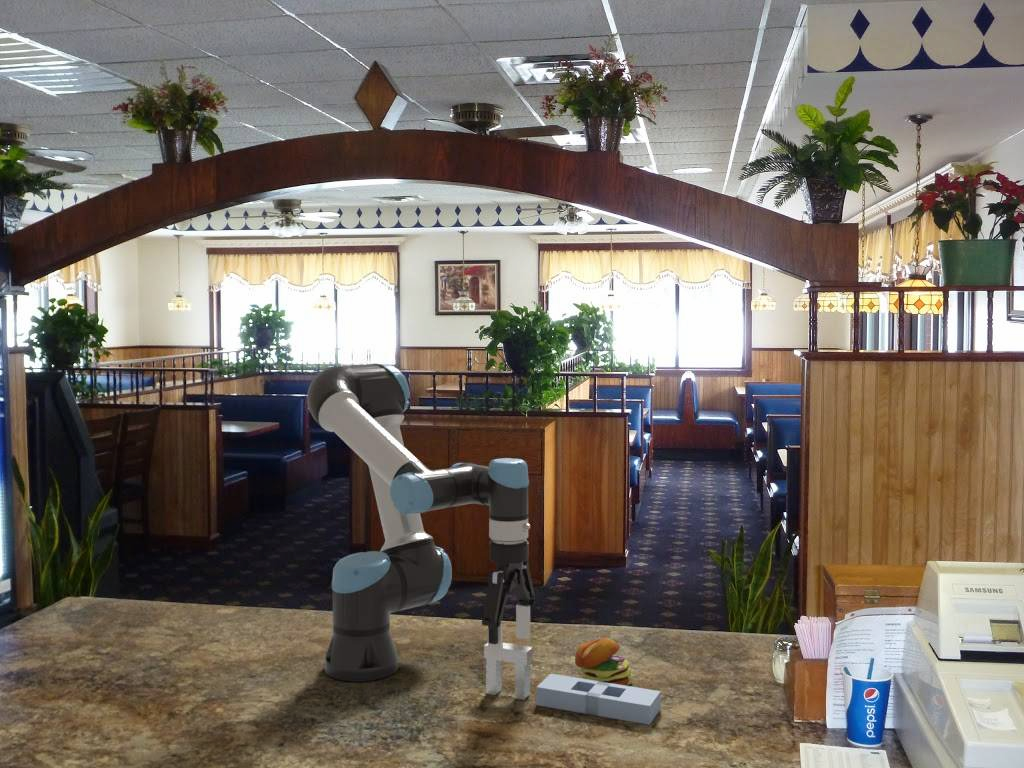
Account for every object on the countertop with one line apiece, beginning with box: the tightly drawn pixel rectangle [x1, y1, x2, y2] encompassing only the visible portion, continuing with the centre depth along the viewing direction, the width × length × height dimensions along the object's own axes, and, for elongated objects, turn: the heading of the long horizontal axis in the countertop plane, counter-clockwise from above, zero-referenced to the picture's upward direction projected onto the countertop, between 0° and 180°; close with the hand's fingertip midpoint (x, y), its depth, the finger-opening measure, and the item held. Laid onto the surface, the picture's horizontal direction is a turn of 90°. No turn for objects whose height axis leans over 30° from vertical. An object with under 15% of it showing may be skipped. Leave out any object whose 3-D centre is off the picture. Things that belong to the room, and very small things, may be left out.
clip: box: [483, 642, 534, 701], centre depth 195 cm, size 9×3×10 cm, turn 67°
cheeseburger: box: [574, 637, 634, 686], centre depth 202 cm, size 10×11×10 cm
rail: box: [535, 673, 662, 726], centre depth 190 cm, size 22×8×4 cm, turn 67°
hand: (509, 648), depth 195 cm, fingers open, 13 cm apart
